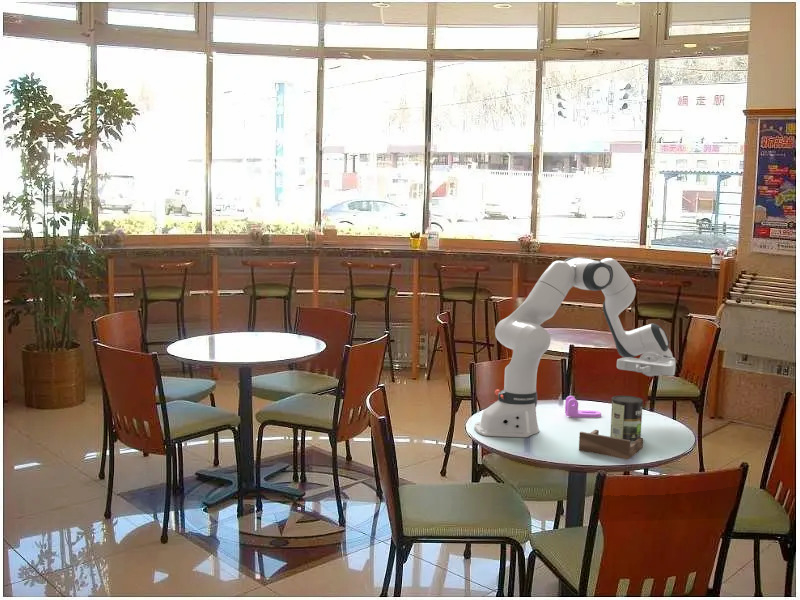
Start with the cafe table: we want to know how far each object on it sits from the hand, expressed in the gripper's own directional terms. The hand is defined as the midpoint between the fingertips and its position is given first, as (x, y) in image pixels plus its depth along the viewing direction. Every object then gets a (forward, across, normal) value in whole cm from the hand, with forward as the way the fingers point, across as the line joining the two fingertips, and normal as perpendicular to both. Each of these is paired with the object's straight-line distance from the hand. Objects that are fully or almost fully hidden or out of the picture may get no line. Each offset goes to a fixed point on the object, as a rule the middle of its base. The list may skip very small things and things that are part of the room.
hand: (639, 370), depth 291 cm
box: (+26, 0, +22) cm, 34 cm away
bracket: (-9, -23, +22) cm, 33 cm away
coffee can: (+12, 0, +22) cm, 25 cm away
